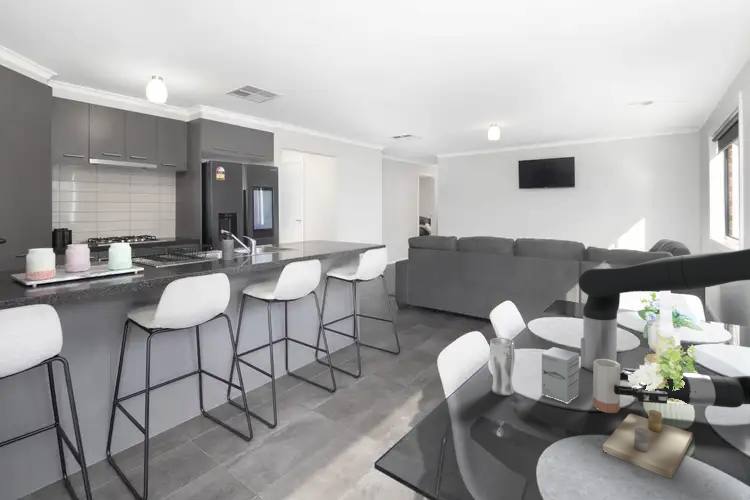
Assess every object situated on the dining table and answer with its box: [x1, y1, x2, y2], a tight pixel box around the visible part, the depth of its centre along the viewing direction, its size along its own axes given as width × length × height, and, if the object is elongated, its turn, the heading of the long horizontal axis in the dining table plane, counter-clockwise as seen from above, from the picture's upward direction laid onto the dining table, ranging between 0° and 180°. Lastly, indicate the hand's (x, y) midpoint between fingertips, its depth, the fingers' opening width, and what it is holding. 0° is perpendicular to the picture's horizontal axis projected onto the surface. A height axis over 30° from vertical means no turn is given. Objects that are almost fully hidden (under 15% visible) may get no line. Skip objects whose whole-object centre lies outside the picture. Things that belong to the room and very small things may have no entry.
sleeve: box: [592, 359, 621, 414], centre depth 100 cm, size 6×6×12 cm
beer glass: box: [489, 337, 516, 397], centre depth 112 cm, size 7×7×15 cm
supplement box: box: [541, 346, 580, 402], centre depth 107 cm, size 7×7×13 cm
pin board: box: [602, 409, 693, 480], centre depth 84 cm, size 12×18×6 cm, turn 130°
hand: (610, 381), depth 99 cm, fingers open, 8 cm apart
